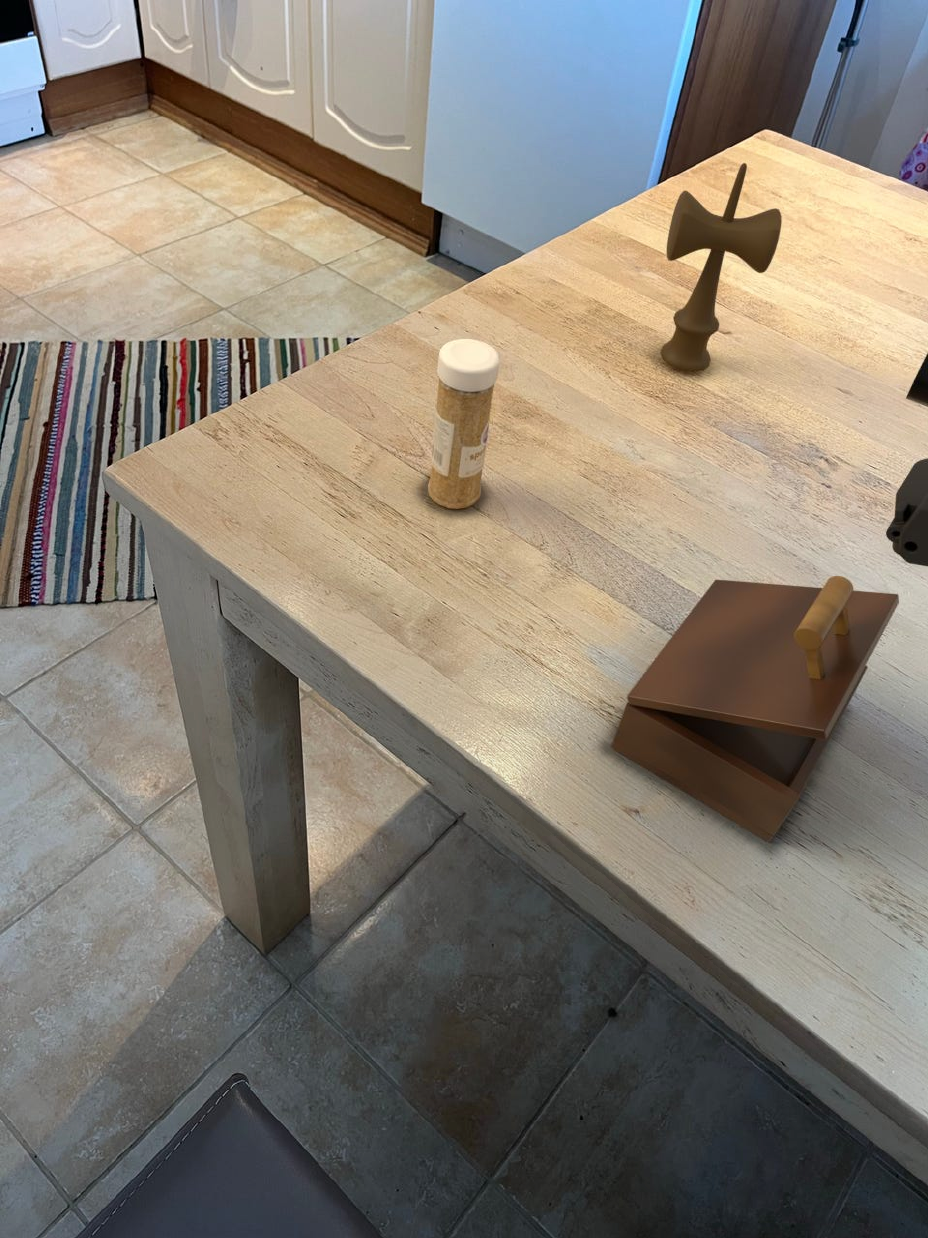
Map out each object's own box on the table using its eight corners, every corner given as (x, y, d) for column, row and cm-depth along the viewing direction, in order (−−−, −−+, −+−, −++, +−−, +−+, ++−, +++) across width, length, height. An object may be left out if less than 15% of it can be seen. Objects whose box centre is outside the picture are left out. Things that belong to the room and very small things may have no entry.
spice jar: (481, 512, 78) (502, 372, 69) (426, 509, 78) (439, 368, 68) (479, 477, 82) (498, 337, 72) (426, 474, 81) (438, 333, 71)
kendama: (637, 339, 100) (689, 140, 85) (729, 354, 99) (796, 158, 84) (636, 370, 95) (690, 167, 81) (731, 386, 95) (802, 185, 80)
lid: (899, 602, 60) (894, 542, 58) (826, 740, 52) (816, 676, 50) (717, 587, 68) (706, 533, 66) (628, 704, 60) (612, 647, 58)
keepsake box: (840, 708, 68) (868, 666, 64) (769, 843, 60) (796, 803, 56) (696, 631, 72) (714, 587, 68) (610, 747, 64) (626, 704, 60)
